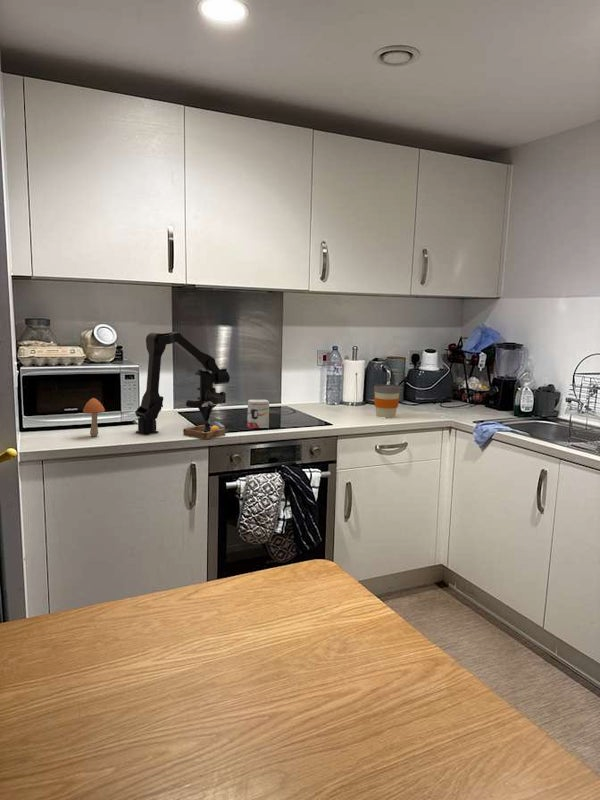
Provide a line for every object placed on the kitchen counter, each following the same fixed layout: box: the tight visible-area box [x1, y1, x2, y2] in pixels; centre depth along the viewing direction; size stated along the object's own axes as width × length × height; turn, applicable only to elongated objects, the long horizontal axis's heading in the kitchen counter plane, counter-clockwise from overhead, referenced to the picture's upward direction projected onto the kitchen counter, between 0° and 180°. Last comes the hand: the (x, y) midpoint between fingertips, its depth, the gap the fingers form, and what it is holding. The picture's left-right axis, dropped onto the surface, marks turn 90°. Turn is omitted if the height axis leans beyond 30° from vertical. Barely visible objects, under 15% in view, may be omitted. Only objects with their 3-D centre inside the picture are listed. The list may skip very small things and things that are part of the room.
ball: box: [209, 426, 219, 432], centre depth 228 cm, size 4×4×4 cm
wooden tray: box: [183, 424, 226, 440], centre depth 227 cm, size 11×12×2 cm
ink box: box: [246, 399, 270, 430], centre depth 243 cm, size 9×5×12 cm, turn 105°
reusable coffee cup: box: [373, 384, 401, 419], centre depth 276 cm, size 13×13×15 cm
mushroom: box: [82, 397, 106, 437], centre depth 219 cm, size 8×8×15 cm
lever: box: [207, 416, 226, 430], centre depth 239 cm, size 3×21×3 cm, turn 23°
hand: (206, 421), depth 246 cm, fingers closed
